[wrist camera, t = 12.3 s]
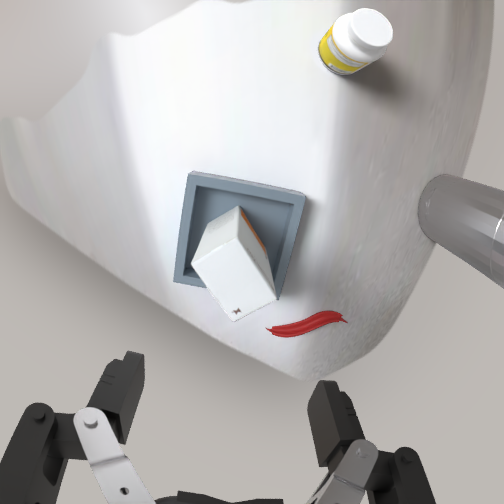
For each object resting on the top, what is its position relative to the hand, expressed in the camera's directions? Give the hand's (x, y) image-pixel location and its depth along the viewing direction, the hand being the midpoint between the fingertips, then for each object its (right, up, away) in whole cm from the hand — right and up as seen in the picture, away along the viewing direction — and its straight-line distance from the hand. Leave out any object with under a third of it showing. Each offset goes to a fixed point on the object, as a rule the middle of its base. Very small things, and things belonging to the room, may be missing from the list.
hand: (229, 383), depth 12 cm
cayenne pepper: (+8, -3, +27) cm, 28 cm away
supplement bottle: (+11, +28, +15) cm, 33 cm away
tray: (-1, +8, +22) cm, 23 cm away
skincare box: (-1, +8, +21) cm, 22 cm away
